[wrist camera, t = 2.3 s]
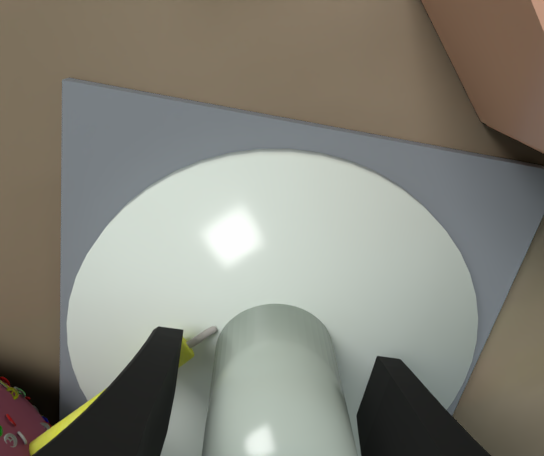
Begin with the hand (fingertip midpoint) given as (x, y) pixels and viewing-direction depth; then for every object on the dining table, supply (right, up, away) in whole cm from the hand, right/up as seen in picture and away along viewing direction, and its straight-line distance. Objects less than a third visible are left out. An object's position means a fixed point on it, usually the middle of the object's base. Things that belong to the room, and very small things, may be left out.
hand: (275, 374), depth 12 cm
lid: (0, +1, +2) cm, 2 cm away
